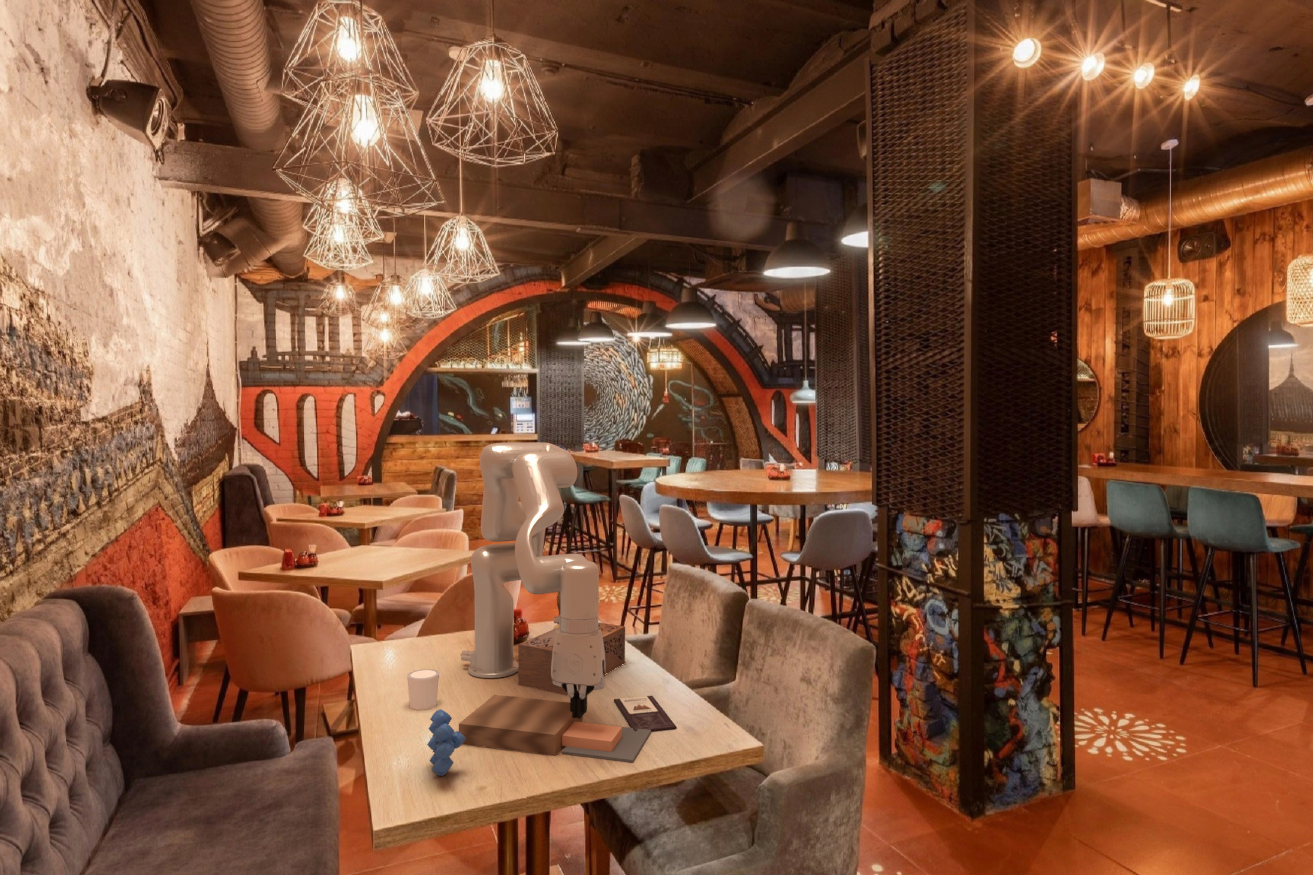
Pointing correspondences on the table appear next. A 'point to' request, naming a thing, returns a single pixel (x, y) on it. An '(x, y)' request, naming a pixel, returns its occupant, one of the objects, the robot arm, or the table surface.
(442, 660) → the table surface
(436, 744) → the grapes
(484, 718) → the stand
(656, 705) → the chocolate bar
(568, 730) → the orange flat block
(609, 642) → the tissue box cover
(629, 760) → the mat
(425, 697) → the pale tapered cup
